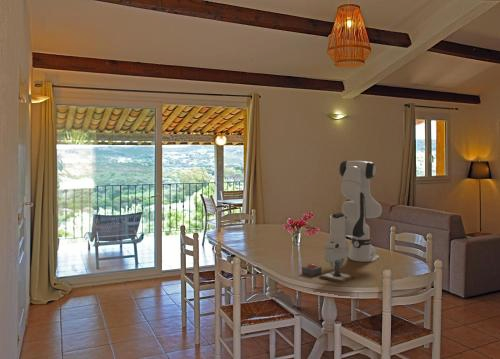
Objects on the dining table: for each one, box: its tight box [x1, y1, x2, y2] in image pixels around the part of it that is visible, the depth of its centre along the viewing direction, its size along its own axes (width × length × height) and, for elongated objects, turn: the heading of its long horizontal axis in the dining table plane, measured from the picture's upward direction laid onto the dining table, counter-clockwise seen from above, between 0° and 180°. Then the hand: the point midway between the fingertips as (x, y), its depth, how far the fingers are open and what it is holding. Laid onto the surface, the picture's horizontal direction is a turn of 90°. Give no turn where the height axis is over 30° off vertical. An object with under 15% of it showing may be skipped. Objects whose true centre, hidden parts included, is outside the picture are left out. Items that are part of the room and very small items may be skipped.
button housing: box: [301, 265, 322, 277], centre depth 248 cm, size 8×8×4 cm
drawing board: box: [318, 270, 355, 284], centre depth 241 cm, size 14×14×2 cm
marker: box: [333, 259, 341, 276], centre depth 240 cm, size 3×3×10 cm
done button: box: [308, 263, 316, 268], centre depth 248 cm, size 4×4×3 cm
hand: (337, 267), depth 240 cm, fingers open, 8 cm apart
